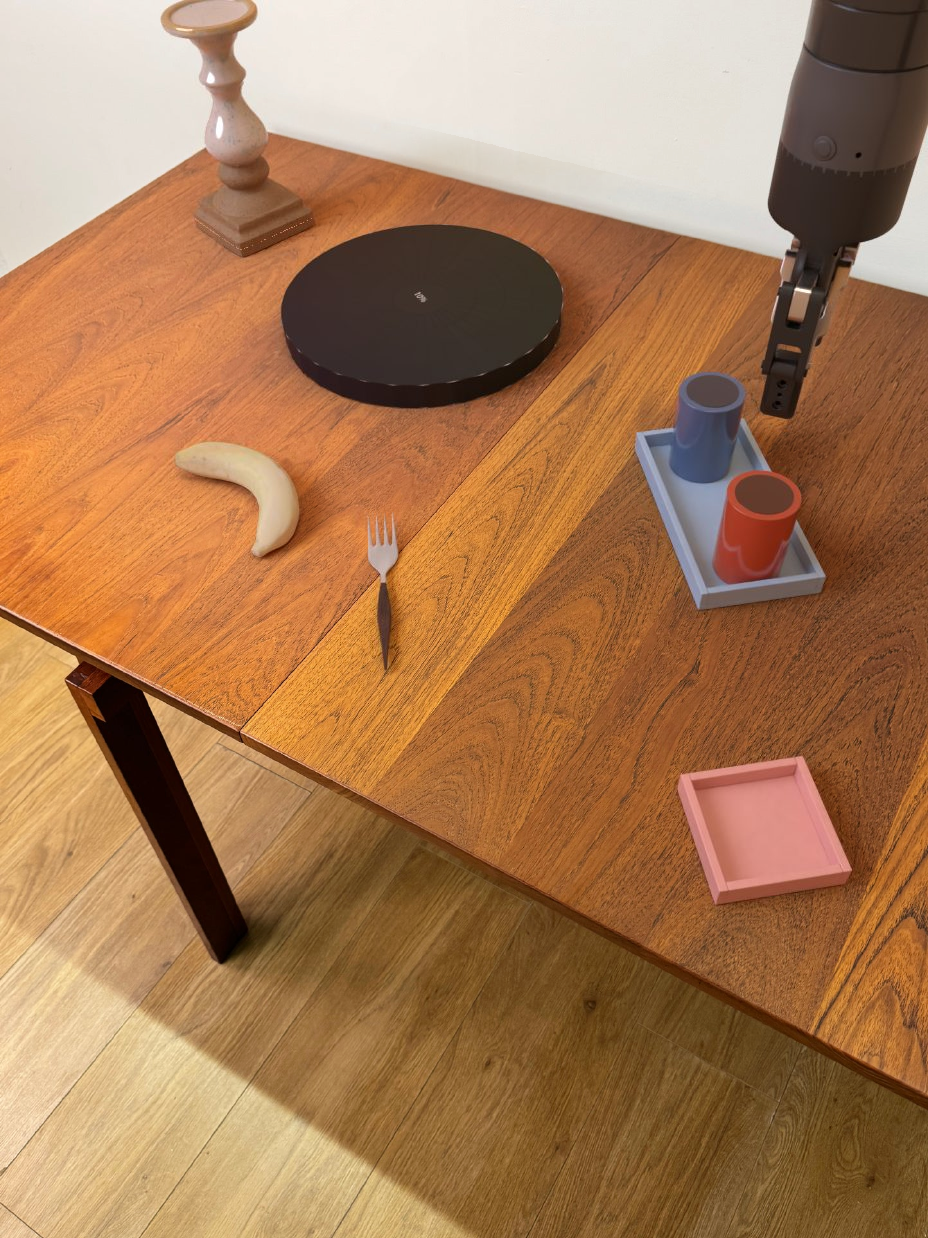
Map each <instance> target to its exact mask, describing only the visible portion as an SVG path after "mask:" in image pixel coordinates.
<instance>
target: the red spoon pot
mask: <svg viewBox="0 0 928 1238" xmlns="http://www.w3.org/2000/svg"><path fill="white" fill-rule="evenodd" d="M801 493H802V492H801V491H800V489H799V487H798V485H796V484H795V482H793V481H792V480H791V479H790V478H788V477H786V476H785V475H783V474H781V473H778V472H774V471H772V470H771V471H763V470H755V471H748V472H745V473H742V474H740V475H738V476H736V477H735V478H733V480H732V481H731V482H730V483H729V485H728V487H727V492H726V496H725V501H724V506H723V510H722V515H721V520H720V525H719V529H718V534H717V539H716V544H715V548H714V553H713V558H712V567H713V570H714V572H715V573H716V575H717V576H718V577H719V578H720V579H721V580H722V581H723V582H725V583H726V584H728V585H732V584H739V583H746V582H753V581H760V580H767V579H774V578H779V576H780V574H781V571H782V567H783V564H784V560H785V557H786V553H787V550H788V547H789V543H790V540H791V536H792V533H793V530H794V526H795V523H796V520H797V519H798V515H799V512H800V509H801V506H802V501H803V500H802V499H803V497H802V494H801Z"/></svg>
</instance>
